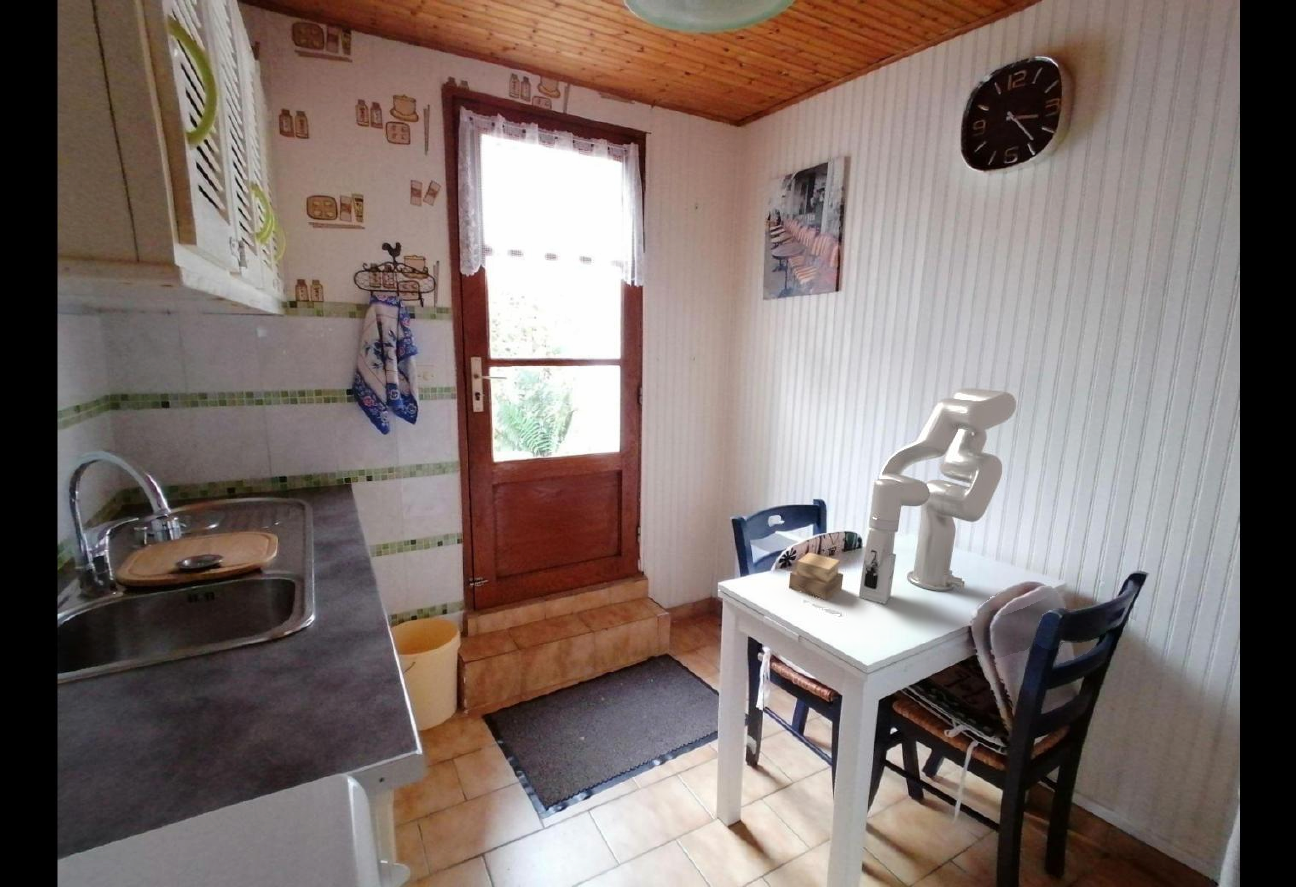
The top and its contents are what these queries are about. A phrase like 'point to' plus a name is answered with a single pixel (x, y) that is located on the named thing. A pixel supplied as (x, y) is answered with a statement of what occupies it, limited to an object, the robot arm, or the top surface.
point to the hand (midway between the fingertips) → (875, 582)
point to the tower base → (815, 585)
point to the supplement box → (879, 581)
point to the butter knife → (826, 609)
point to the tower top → (818, 567)
